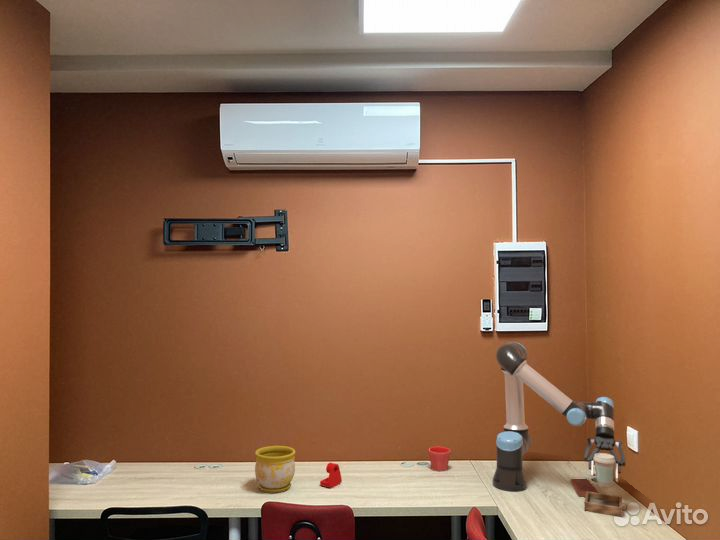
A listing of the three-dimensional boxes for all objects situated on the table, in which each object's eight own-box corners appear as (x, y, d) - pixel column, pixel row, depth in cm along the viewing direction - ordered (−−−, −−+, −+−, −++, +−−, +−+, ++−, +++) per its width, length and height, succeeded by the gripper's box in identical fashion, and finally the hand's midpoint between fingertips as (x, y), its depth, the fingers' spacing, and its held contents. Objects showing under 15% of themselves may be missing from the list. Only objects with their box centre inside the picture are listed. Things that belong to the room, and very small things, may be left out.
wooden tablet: (603, 501, 238) (603, 497, 238) (578, 498, 240) (578, 495, 240) (589, 480, 264) (589, 476, 264) (568, 478, 266) (568, 474, 266)
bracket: (331, 480, 258) (331, 459, 258) (341, 483, 254) (341, 461, 255) (319, 486, 251) (319, 464, 251) (329, 489, 247) (330, 466, 247)
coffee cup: (598, 479, 235) (598, 451, 235) (619, 484, 229) (618, 455, 229) (590, 484, 229) (589, 455, 229) (611, 489, 223) (610, 460, 223)
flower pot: (451, 472, 271) (452, 452, 271) (429, 472, 271) (429, 452, 272) (448, 465, 282) (448, 446, 282) (427, 465, 282) (427, 446, 282)
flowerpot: (246, 491, 243) (247, 454, 243) (267, 478, 259) (268, 443, 260) (282, 497, 236) (282, 459, 237) (301, 484, 253) (302, 448, 253)
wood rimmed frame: (584, 511, 225) (584, 502, 226) (586, 499, 238) (586, 491, 238) (622, 517, 219) (622, 508, 220) (622, 505, 232) (621, 496, 232)
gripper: (631, 437, 239) (633, 486, 224) (579, 432, 248) (577, 478, 233) (631, 427, 234) (633, 477, 219) (578, 422, 243) (576, 469, 228)
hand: (604, 478), depth 226 cm, fingers closed on coffee cup, 8 cm apart
